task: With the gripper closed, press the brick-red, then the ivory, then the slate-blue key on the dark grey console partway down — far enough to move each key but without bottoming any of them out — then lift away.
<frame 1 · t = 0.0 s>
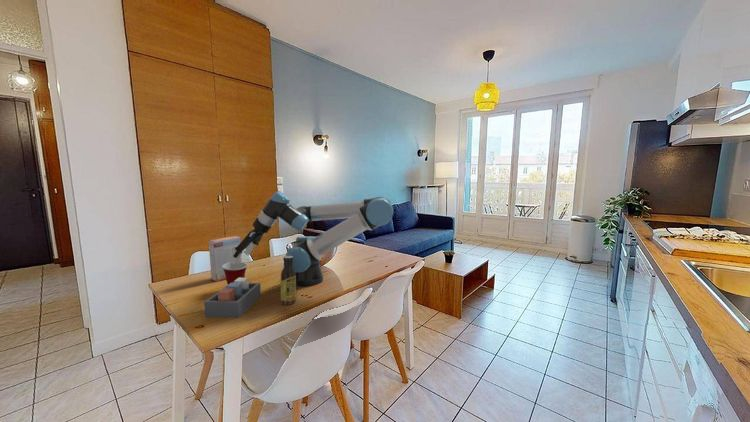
hand: (239, 258, 133), 15 cm above the table, tool tilted 35°, fingers open, 13 cm apart
blue key: (234, 290, 117), point 6 cm above the table, slide at 0.0 cm
console: (235, 305, 118), on the table
ivory key: (241, 284, 123), point 6 cm above the table, slide at 0.0 cm
sauce bottle: (288, 302, 122), on the table
plastic cup: (236, 289, 135), on the table
red key: (226, 296, 111), point 6 cm above the table, slide at 0.0 cm
cracker box: (227, 277, 151), on the table
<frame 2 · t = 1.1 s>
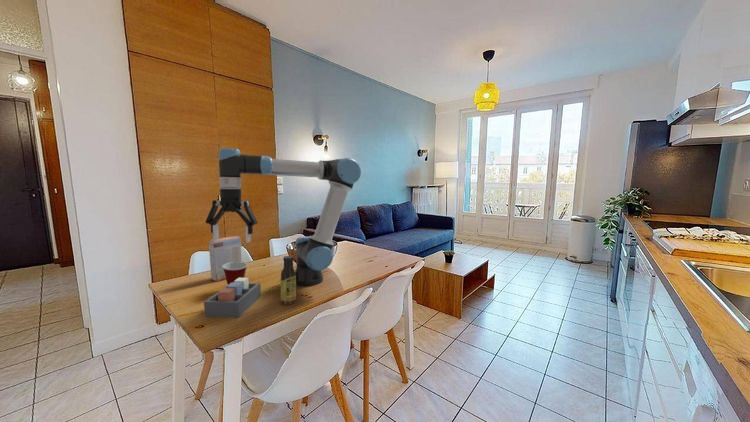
hand: (232, 241, 115), 27 cm above the table, tool pointing down, fingers open, 12 cm apart
nothing on the table moved.
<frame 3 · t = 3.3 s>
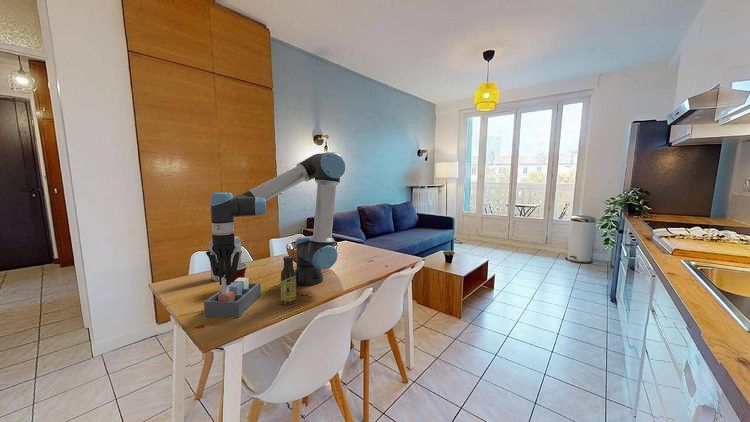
hand: (225, 292, 111), 8 cm above the table, tool pointing down, fingers closed
red key: (226, 299, 111), point 5 cm above the table, slide at 1.2 cm, touching gripper
everything else where it was.
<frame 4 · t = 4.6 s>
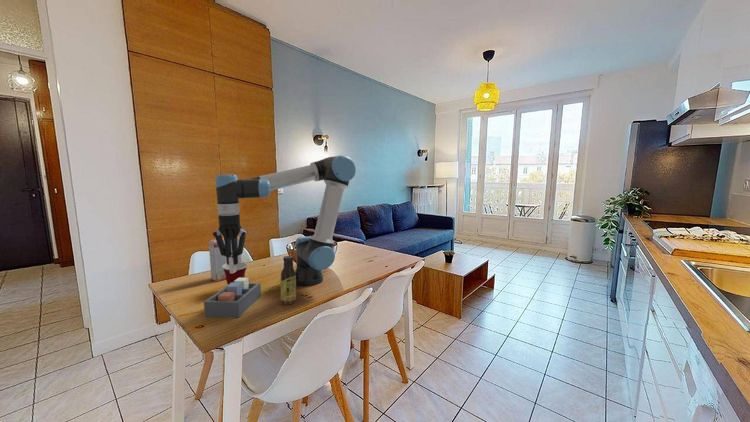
hand: (233, 272, 115), 15 cm above the table, tool pointing down, fingers closed
red key: (226, 300, 111), point 5 cm above the table, slide at 1.5 cm
everything else where it was.
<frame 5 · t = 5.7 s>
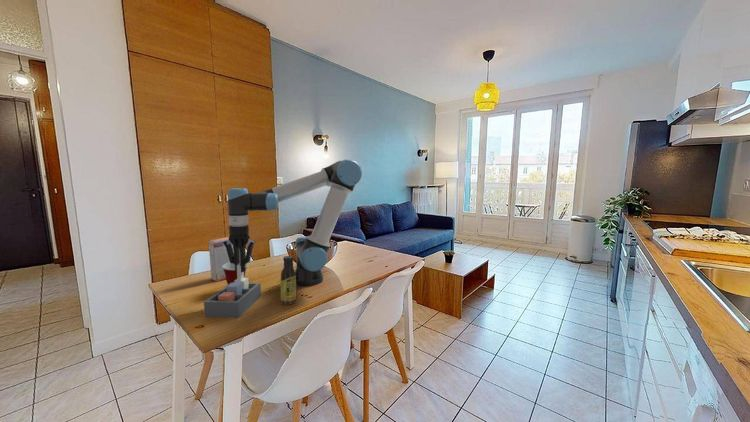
hand: (240, 279, 123), 9 cm above the table, tool pointing down, fingers closed
ivory key: (241, 285, 123), point 6 cm above the table, slide at 0.1 cm, touching gripper
everything else where it was.
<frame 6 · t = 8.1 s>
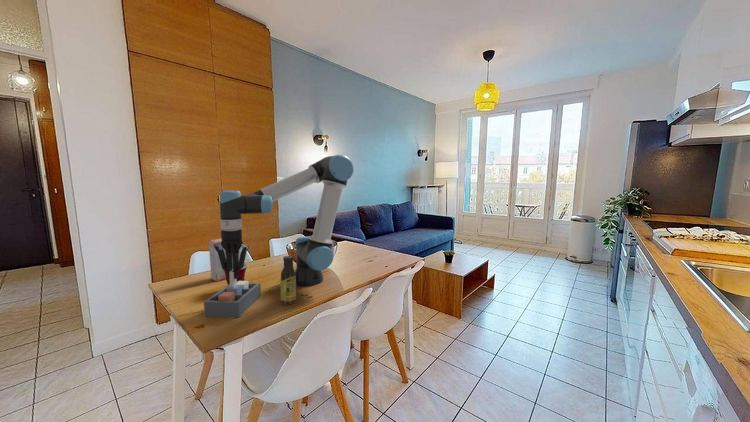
hand: (233, 286, 117), 8 cm above the table, tool pointing down, fingers closed
blue key: (234, 292, 117), point 6 cm above the table, slide at 0.8 cm, touching gripper
ivory key: (241, 288, 123), point 5 cm above the table, slide at 1.5 cm
everything else where it was.
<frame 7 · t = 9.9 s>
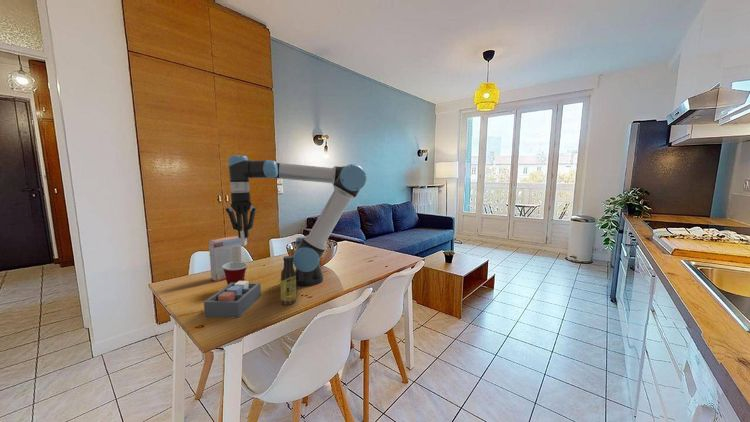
hand: (244, 244, 127), 23 cm above the table, tool pointing down, fingers closed
blue key: (234, 293, 117), point 5 cm above the table, slide at 1.5 cm
everything else where it was.
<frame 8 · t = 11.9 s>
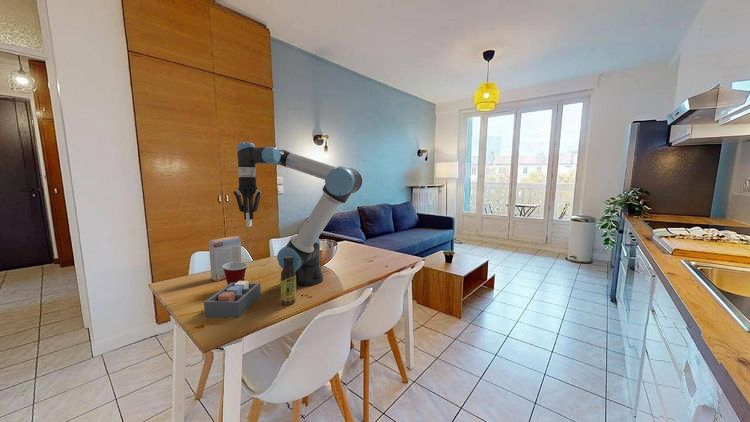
hand: (249, 226, 136), 29 cm above the table, tool pointing down, fingers closed
nothing on the table moved.
at the end: red key slide at 1.5 cm; ivory key slide at 1.5 cm; blue key slide at 1.5 cm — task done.
